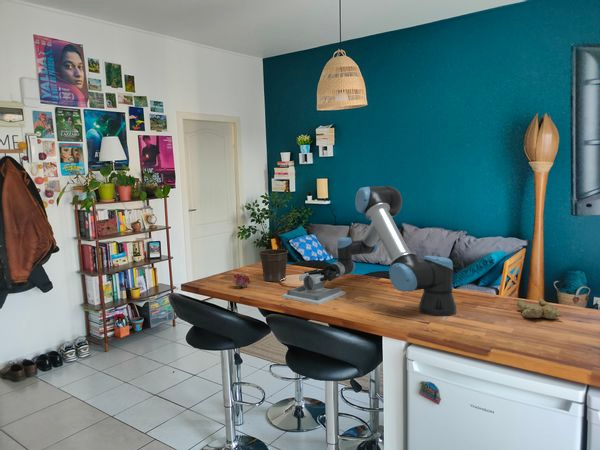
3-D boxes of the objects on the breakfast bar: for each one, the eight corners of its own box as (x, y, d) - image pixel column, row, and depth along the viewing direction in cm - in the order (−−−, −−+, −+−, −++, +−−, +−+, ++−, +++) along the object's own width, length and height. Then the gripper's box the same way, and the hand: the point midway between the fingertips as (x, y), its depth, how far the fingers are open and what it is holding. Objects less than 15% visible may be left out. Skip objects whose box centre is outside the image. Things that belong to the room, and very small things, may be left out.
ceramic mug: (326, 289, 217) (325, 273, 216) (313, 292, 212) (313, 276, 211) (311, 285, 225) (311, 270, 225) (299, 288, 220) (298, 273, 219)
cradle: (345, 294, 219) (345, 287, 219) (318, 305, 202) (318, 298, 202) (309, 287, 233) (309, 281, 233) (281, 297, 216) (281, 290, 215)
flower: (245, 287, 228) (250, 273, 232) (228, 284, 229) (233, 269, 233) (248, 294, 237) (252, 280, 240) (231, 290, 238) (236, 276, 241)
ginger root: (565, 323, 169) (560, 302, 169) (519, 327, 176) (514, 307, 176) (562, 312, 183) (557, 293, 183) (519, 316, 190) (515, 298, 190)
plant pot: (254, 279, 252) (253, 251, 250) (276, 275, 263) (275, 247, 261) (272, 284, 240) (271, 255, 238) (294, 279, 251) (294, 251, 249)
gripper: (352, 280, 224) (325, 290, 207) (317, 275, 237) (290, 284, 220) (351, 265, 223) (325, 274, 206) (317, 261, 237) (290, 269, 219)
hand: (307, 279), depth 213 cm, fingers closed on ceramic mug, 8 cm apart
